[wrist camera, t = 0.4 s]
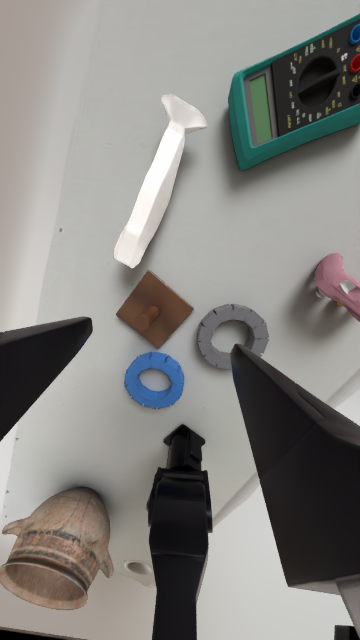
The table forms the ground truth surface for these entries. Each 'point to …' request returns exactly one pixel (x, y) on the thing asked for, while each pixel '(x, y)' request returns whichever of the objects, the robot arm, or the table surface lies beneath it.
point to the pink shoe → (338, 284)
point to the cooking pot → (59, 550)
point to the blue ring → (148, 396)
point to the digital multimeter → (297, 95)
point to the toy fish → (158, 181)
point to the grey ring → (226, 313)
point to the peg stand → (154, 309)
